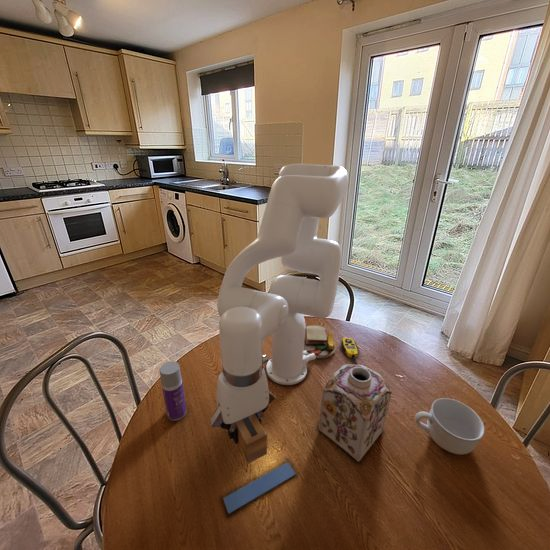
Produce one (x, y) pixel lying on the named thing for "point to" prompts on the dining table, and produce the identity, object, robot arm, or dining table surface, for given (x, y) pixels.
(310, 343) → the toy sandwich meal
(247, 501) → the strip
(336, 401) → the decorative jar
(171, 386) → the container
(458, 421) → the teacup
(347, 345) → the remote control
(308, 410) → the dining table surface
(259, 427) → the token holder
